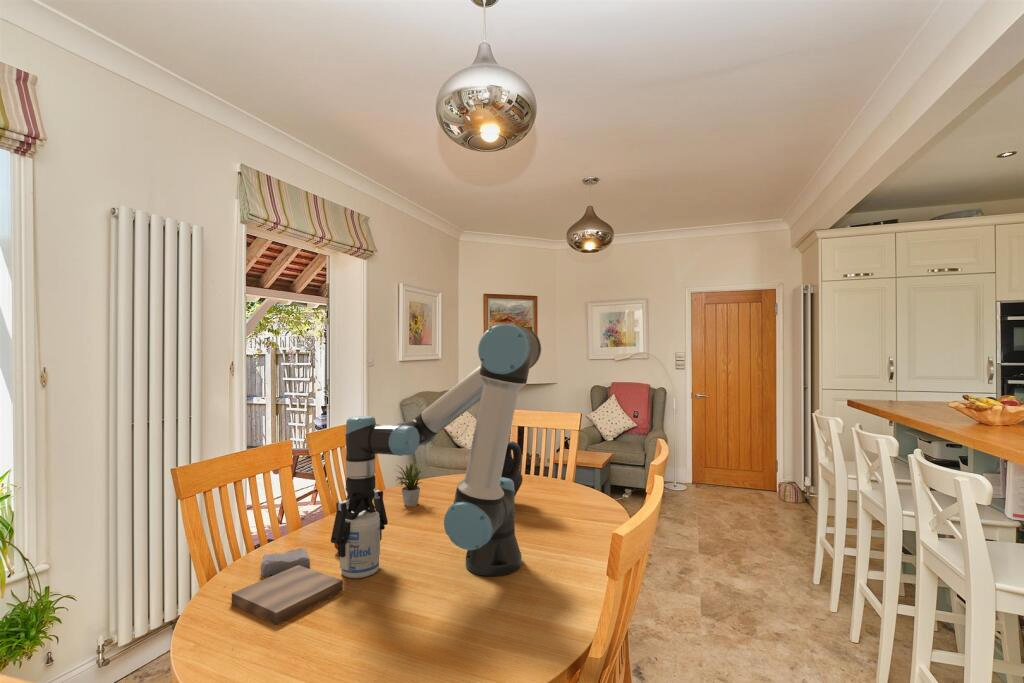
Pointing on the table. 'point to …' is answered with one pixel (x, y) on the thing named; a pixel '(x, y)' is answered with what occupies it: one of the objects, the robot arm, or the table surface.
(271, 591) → the walnut board
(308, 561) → the stone block
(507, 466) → the pitcher
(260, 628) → the table surface
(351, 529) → the supplement tub
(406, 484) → the house plant
